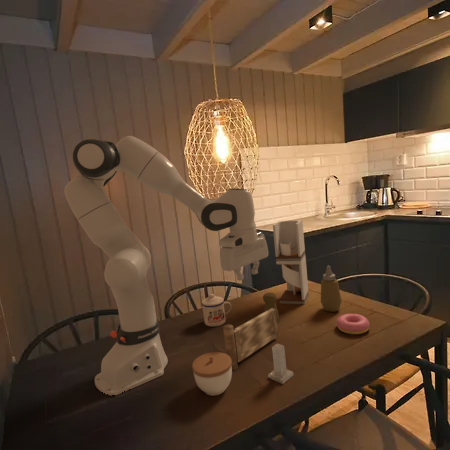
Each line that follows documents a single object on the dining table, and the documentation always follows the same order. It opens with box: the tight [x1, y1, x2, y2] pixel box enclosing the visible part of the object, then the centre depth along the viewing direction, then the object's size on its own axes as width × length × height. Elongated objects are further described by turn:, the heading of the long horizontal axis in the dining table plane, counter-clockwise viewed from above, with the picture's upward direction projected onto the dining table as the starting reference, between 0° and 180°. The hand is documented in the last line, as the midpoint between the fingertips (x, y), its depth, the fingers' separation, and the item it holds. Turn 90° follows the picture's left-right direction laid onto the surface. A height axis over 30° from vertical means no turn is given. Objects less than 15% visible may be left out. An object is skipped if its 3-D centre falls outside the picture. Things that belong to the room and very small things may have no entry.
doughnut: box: [335, 313, 371, 335], centre depth 113 cm, size 11×11×4 cm
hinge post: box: [222, 324, 239, 371], centre depth 97 cm, size 3×3×13 cm
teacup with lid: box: [201, 293, 232, 327], centre depth 131 cm, size 12×9×12 cm
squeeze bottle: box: [320, 265, 342, 313], centre depth 129 cm, size 8×8×18 cm
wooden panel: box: [233, 308, 279, 363], centre depth 105 cm, size 20×2×10 cm, turn 134°
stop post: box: [267, 343, 295, 385], centre depth 90 cm, size 5×5×9 cm
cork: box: [262, 292, 281, 324], centre depth 126 cm, size 6×6×11 cm
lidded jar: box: [191, 351, 233, 397], centre depth 88 cm, size 11×11×9 cm
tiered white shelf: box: [272, 219, 309, 305], centre depth 143 cm, size 11×11×35 cm
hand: (247, 276), depth 109 cm, fingers open, 6 cm apart
